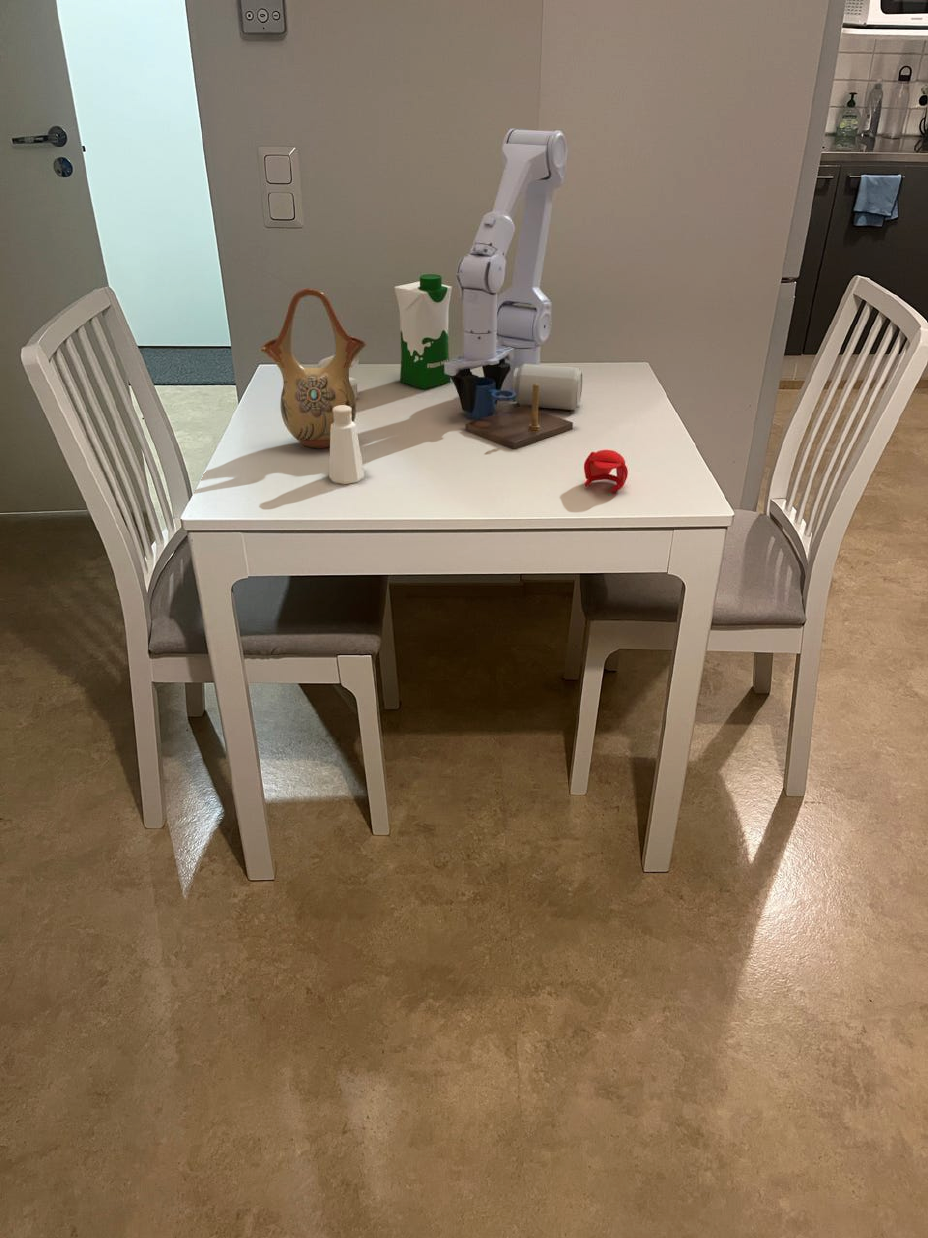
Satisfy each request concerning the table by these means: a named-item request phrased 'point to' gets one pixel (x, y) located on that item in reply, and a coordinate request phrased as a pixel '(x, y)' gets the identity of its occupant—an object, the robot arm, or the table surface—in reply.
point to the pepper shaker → (344, 448)
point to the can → (548, 386)
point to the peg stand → (519, 425)
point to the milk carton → (424, 331)
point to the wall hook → (351, 380)
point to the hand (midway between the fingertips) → (479, 407)
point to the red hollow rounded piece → (605, 468)
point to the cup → (487, 398)
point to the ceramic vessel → (313, 379)
